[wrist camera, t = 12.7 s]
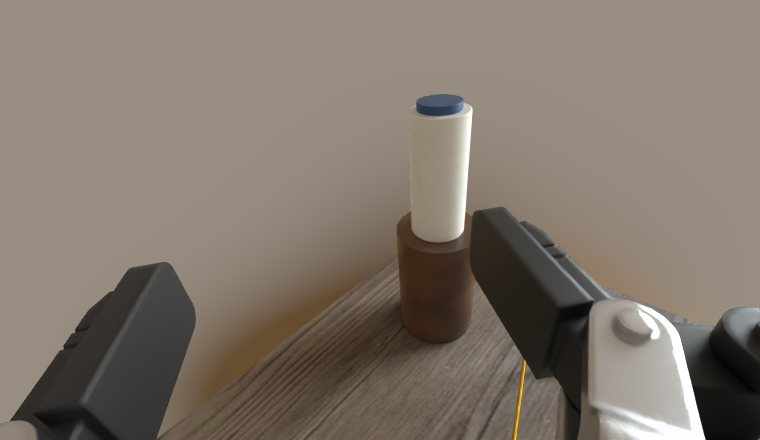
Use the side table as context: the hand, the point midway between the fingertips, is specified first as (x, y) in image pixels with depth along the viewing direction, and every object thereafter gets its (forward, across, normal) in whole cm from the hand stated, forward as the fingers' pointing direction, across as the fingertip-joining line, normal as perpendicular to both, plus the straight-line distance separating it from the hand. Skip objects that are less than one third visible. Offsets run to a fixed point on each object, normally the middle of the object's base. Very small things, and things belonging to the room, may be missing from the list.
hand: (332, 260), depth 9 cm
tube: (+16, -8, +11) cm, 21 cm away
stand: (+16, -8, +22) cm, 28 cm away
